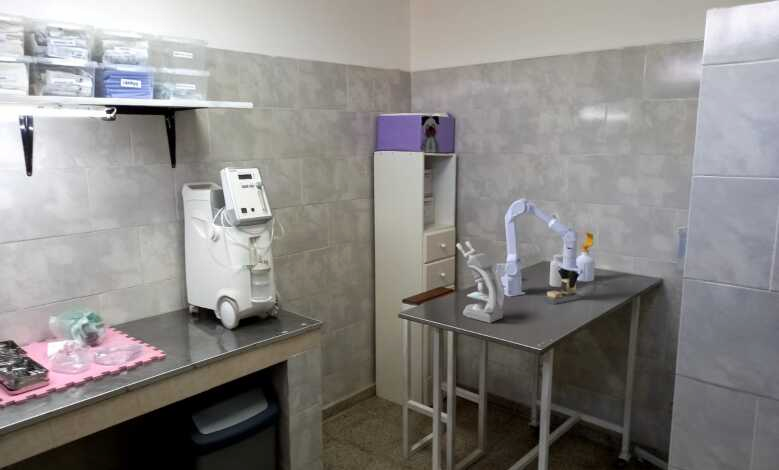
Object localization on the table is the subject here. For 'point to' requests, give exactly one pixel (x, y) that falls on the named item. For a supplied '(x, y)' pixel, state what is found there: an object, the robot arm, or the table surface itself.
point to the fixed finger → (554, 294)
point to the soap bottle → (586, 261)
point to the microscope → (492, 301)
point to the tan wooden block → (567, 287)
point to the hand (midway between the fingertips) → (568, 286)
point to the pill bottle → (555, 271)
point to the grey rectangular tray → (562, 298)
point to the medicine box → (501, 270)
